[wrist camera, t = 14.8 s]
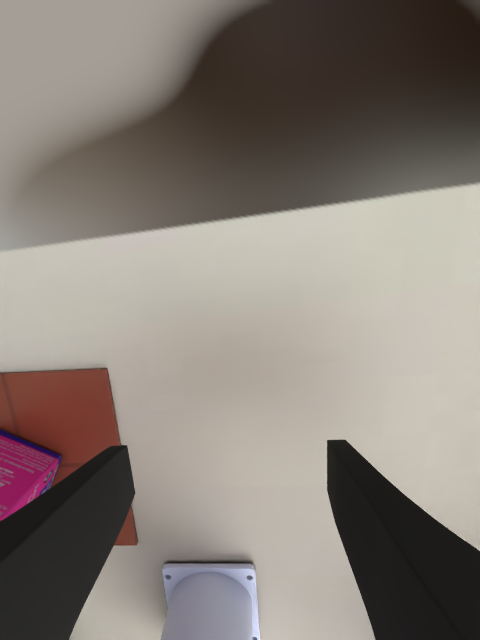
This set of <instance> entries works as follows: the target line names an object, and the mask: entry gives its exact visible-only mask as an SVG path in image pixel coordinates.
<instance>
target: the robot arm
mask: <svg viewBox="0 0 480 640" xmlns="http://www.w3.org/2000/svg"><path fill="white" fill-rule="evenodd" d="M327 491H328V495H329V499H330V503H331V508H332V511H333V515H334V519H335V523H336V526H337V529H338V532H339V535H340V537H341V540H342V543H343V546H344V549H345V551H346V554H347V557H348V560H349V563H350V565H351V568H352V571H353V574H354V577H355V579H356V582H357V585H358V588H359V590H360V593H361V596H362V599H363V602H364V604H365V607H366V610H367V613H368V616H369V619H370V623H371V626H372V629H373V632H374V636H375V639H376V640H480V551H479V550H477V549H476V548H474V547H473V546H471V545H470V544H468V543H467V542H466V541H464V540H463V539H461V538H460V537H459V536H457V535H456V534H454V533H453V532H452V531H450V530H449V529H448V528H446V527H445V526H443V525H442V524H441V523H439V522H438V521H437V520H435V519H434V518H433V517H431V516H430V515H429V514H428V513H426V512H425V511H424V510H423V509H421V508H420V507H419V506H418V505H416V504H415V503H414V502H413V501H412V500H410V499H409V498H408V497H407V496H405V495H404V494H403V493H402V492H401V491H400V490H398V489H397V488H396V487H395V486H394V485H393V484H392V483H390V482H389V481H388V480H387V479H386V478H385V477H384V476H383V475H382V474H381V473H379V472H378V471H377V470H376V469H375V468H374V467H373V466H372V465H371V464H370V463H369V462H368V461H367V460H366V459H365V458H364V457H363V456H362V455H361V454H360V453H358V452H357V451H356V450H355V449H354V448H353V447H352V446H351V445H350V444H349V443H348V442H347V441H346V440H327ZM134 495H135V489H134V483H133V477H132V471H131V466H130V460H129V454H128V448H127V445H122V446H110V447H108V448H107V449H105V450H104V451H102V452H101V453H99V454H98V455H96V456H95V457H93V458H92V459H91V460H89V461H88V462H86V463H85V464H84V465H82V466H81V467H79V468H78V469H77V470H75V471H74V472H73V473H71V474H70V475H68V476H67V477H66V478H64V479H63V480H61V481H60V482H59V483H57V484H56V485H54V486H53V487H51V488H50V489H48V490H47V491H46V492H44V493H43V494H41V495H40V496H38V497H37V498H35V499H34V500H32V501H31V502H29V503H28V504H26V505H25V506H23V507H22V508H20V509H19V510H17V511H16V512H14V513H13V514H11V515H9V516H8V517H6V518H5V519H3V520H1V521H0V640H69V637H70V635H71V633H72V630H73V628H74V625H75V623H76V621H77V619H78V617H79V614H80V612H81V610H82V608H83V606H84V604H85V602H86V600H87V598H88V596H89V594H90V592H91V590H92V588H93V586H94V584H95V582H96V580H97V578H98V576H99V574H100V572H101V570H102V568H103V566H104V564H105V562H106V560H107V558H108V556H109V554H110V552H111V550H112V548H113V546H114V544H115V541H116V539H117V537H118V535H119V533H120V531H121V529H122V527H123V525H124V523H125V520H126V517H127V515H128V512H129V509H130V506H131V504H132V501H133V498H134ZM162 575H163V581H164V588H165V594H166V600H167V607H168V612H167V616H166V620H165V624H164V628H163V632H162V636H161V640H260V632H259V617H258V603H257V588H256V574H255V567H254V566H253V565H252V564H165V565H164V566H163V569H162Z"/></svg>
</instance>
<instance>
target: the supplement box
mask: <svg viewBox="0 0 480 640" xmlns="http://www.w3.org/2000/svg"><path fill="white" fill-rule="evenodd" d="M61 459H62V456H61V455H59V454H57V453H55V452H52V451H50V450H47V449H45V448H43V447H40V446H38V445H36V444H33V443H31V442H29V441H26V440H24V439H22V438H19V437H17V436H15V435H13V434H10V433H8V432H6V431H4V430H2V429H0V521H1V520H3V519H5V518H6V517H8V516H9V515H11V514H13V513H14V512H16V511H17V510H19V509H20V508H22V507H23V506H25V505H26V504H28V503H29V502H31V501H32V500H34V499H35V498H37V497H38V496H40V495H41V494H43V493H44V492H46V491H47V490H48V489H50V487H51V484H52V481H53V479H54V476H55V473H56V471H57V468H58V466H59V464H60V461H61Z"/></svg>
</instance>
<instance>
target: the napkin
mask: <svg viewBox="0 0 480 640" xmlns="http://www.w3.org/2000/svg"><path fill="white" fill-rule="evenodd" d="M0 429H2V430H4V431H6V432H8V433H10V434H13V435H15V436H17V437H19V438H22V439H24V440H26V441H29V442H31V443H33V444H36V445H38V446H40V447H43V448H45V449H47V450H50V451H52V452H55V453H57V454H59V455H61V456H62V459H61V461H60V464H59V466H58V468H57V471H56V473H55V476H54V479H53V481H52V484H51V487H53V486H54V485H56V484H57V483H59V482H60V481H61V480H63V479H64V478H66V477H67V476H68V475H70V474H71V473H73V472H74V471H75V470H77V469H78V468H79V467H81V466H82V465H84V464H85V463H86V462H88V461H89V460H91V459H92V458H93V457H95V456H96V455H98V454H99V453H101V452H102V451H104V450H105V449H107V448H108V447H110V446H121V445H120V439H119V433H118V427H117V422H116V416H115V410H114V405H113V399H112V393H111V388H110V382H109V376H108V371H107V368H104V369H81V370H59V371H36V372H14V373H0ZM51 487H50V488H51ZM137 543H138V541H137V536H136V530H135V524H134V518H133V513H132V507H131V506H130V509H129V512H128V515H127V517H126V520H125V523H124V525H123V527H122V529H121V531H120V533H119V535H118V537H117V539H116V541H115V544H114V545H137Z"/></svg>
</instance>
